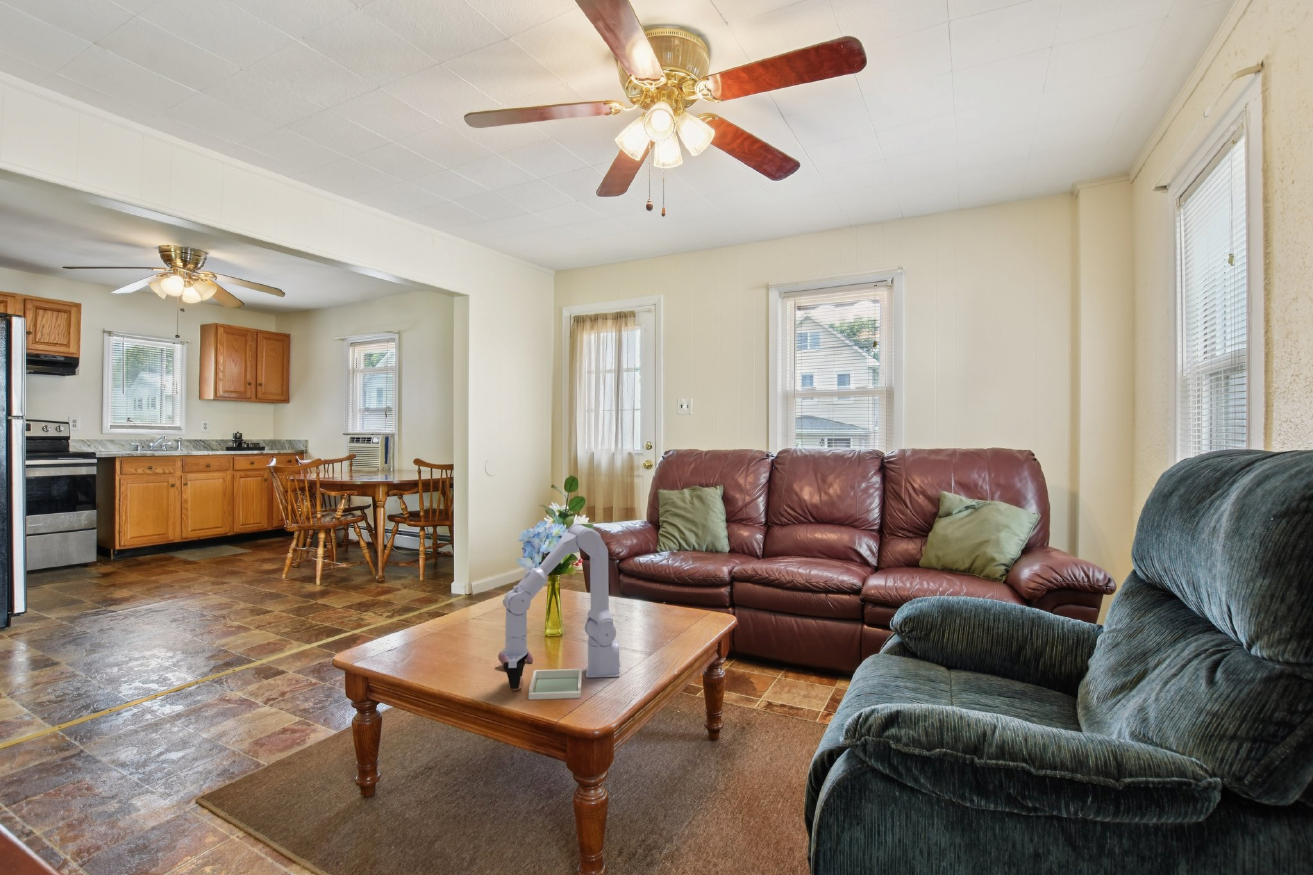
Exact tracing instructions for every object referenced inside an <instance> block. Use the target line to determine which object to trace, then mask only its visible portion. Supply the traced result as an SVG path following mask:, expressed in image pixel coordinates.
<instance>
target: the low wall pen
mask: <svg viewBox="0 0 1313 875" xmlns="http://www.w3.org/2000/svg"><path fill="white" fill-rule="evenodd" d="M563 678H578V685H577V691H567V692H537V693H534V692H535V688H536V684H537V680H538V679H563ZM582 679H583V668H566V669H565V668H564V669H563V668H562V669H536V670H535V669H534V670H533V673H532V677H531V680H530V683H529V688H528V700H530V701H531V700H532V701H533V700H535V701H536V700H559V699H561V700H562V699H581V698H582V696H581V695H582V681H583V680H582Z"/></svg>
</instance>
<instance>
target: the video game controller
mask: <svg viewBox="0 0 1313 875" xmlns="http://www.w3.org/2000/svg"><path fill="white" fill-rule="evenodd" d="M502 650H505V648H504V649H502ZM527 652H528V656H527V658H526V660H525V661H526V662H528V664H533V661H534V657H533V656H532V654H531V653H530V651H529V649H528V648H527ZM497 657H498V661H499V662H500V663H501V666H502V667H503V664H504V662H509V661H508V659H507V658H506V656H505V655H501V651H500V652H499V653H498V656H497Z"/></svg>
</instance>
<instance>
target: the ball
mask: <svg viewBox="0 0 1313 875" xmlns="http://www.w3.org/2000/svg"><path fill="white" fill-rule="evenodd" d="M523 685H524V678H523V675H522V676H521V678H520V684H519V688H518V689H512V690H513V691H518V690H520V689H521V688H522V687H523ZM508 686H509V688H510V685H509V681H508Z"/></svg>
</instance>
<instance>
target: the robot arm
mask: <svg viewBox="0 0 1313 875" xmlns="http://www.w3.org/2000/svg"><path fill="white" fill-rule="evenodd" d="M580 549H581V550H582V551H583V552H584V553H585V554H587V555H588V556H589V574H590V575H589V578H590V579H589V582H590V584H589V585H590V586H589V587H590V589H589V590H590V592H589V593H590V609H589V610H588V612H587V620H586V621H585V623H584V624H585V625H584V631H585V633H586V635H588V638H587V665H586V668H585V669H586V673H585V677H586V679H587V678H615V677H616V678H618V677H620V668H621V661H620V642H619V641H614V640H615V639H616V636H617V630H616V629H617V628H616V627H615V625H614V618H613V616H612V613H611V611H610V609H609V608H610V607H609V606H610V604H609V602H610V600H609V599H610V598H609V596H610V594H609V592H610V591H609V587H610V586H609V549H608V547H607V545H606V544H605V542H604V540H603V539H602V535H601V534H600V533H599V532H598V531H597V530H595V529H593V528H591V527H586V526H584V525H582V524H580V523H576V524H575V523H574V524H572V525H571V526H570V527H568V529H567V531H565V532H564V533H563V534H562V535H561V537H560V539H559V540H558V542H557V543H556V545H555V546H554V547H553V548H552V550H550V552H549V553H548V555H547V556H546V557H545V558H544V560H543V561H542V562H541V563H540V565H539V566H538V567H533V568H531V569H530V570H526V571H525V572H524V576H523V578H522V579H521V580H520V581H519V583H518V584H517V585H516V584H515V585H514V586H513V587H512V588H513V589H512V590H509V591H508V592H506V593H505V595H504V599H502V604H503V606H504V608H505V642H504V643H505V648H504V649H505V650H503V649H501V651H500V652H501V655H505V656H506V658H507V659H508V661H509V662H504V664H503V666H502V668H503V669H504V671H505V672H506V676H507V679H508V682H509V684H508V686H509V685H510V687H509V688H510V690H513V689H518V688H519V684H520V678H521V676H522V677H523V672H524V667H525V666H526V661H527V660H526V658H527V656H528V652H527V649H528V647H527V644H528V639H527V638H528V617H527V615H528V613H527V611H529V610H530V607H531V601H532V600H533V599H534V598H535V597H536V596H537V594H538V593H539V592H540V591H541V590H542V589H543V588H544V587H545V585H546V584H547V583H548V575H549V574H550V573H551V572H552V571H553V570H554V569H555V568H556V567H557V566H558V565H559V564H560V563H561V562H562V561H563V560H564V558H566V556H568V555H572V554H576V553H580ZM518 690H519V689H518Z"/></svg>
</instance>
